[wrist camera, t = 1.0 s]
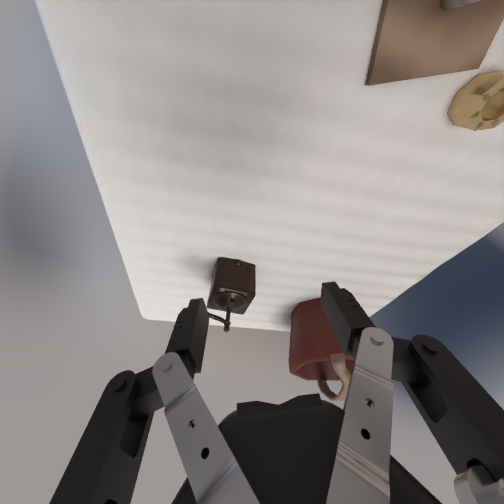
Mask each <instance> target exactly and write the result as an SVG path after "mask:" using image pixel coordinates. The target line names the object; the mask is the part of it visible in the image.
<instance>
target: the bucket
mask: <svg viewBox="0 0 504 504" xmlns="http://www.w3.org/2000/svg"><path fill="white" fill-rule="evenodd" d="M353 363H354V358H353V356H352V354H351V355H345V354H344V352H343V350H342V348H341V346H340V344H339V342H338V339H337V337H336V335H335V333H334V331H333V329H332V327H331V325H330V323H329V321H328V319H327V317H326V315H325V313H324V311H323V309H322V306H321V298H317V299H312V300H308V301H304V302H300V303H299V304H298V305H297V307H296V308H295V309H294V311H293V312H292V316H291V333H290V350H289V368H290V373H292V374H294V375H296V376H298V377H300V378H303V379H305V380H318V386H319V388H320V390H321V392H322V393H323V394H324V395H325V396H326V397H327V398H329V399H330V400H345V398H346V394H347V389H348V385H349V381H350V376H351V372H352V367H353ZM326 380H341V382H342V383H343V385H342V389H341V391H340V392H339V394H338V395H336V394H335V393H334V392H332V391H331V390H330V389H329V387H328V385H327V383H326Z"/></svg>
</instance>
